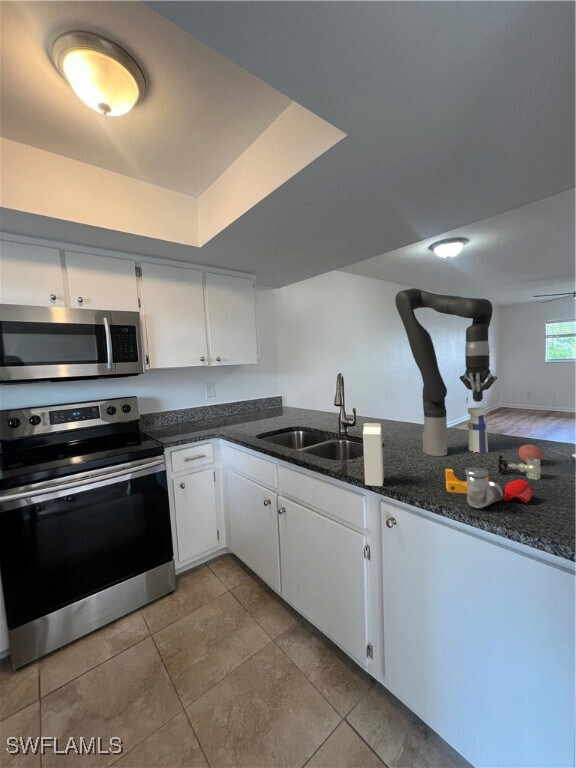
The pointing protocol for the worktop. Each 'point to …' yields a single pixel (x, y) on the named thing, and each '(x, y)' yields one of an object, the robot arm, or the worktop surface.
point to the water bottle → (477, 429)
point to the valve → (523, 467)
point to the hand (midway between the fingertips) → (477, 401)
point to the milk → (373, 454)
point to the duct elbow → (481, 488)
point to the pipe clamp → (455, 483)
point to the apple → (530, 452)
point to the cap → (518, 491)
